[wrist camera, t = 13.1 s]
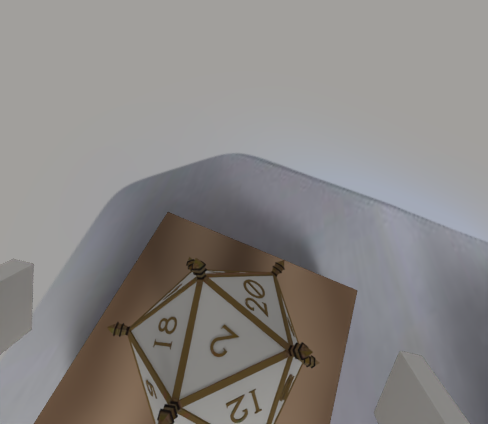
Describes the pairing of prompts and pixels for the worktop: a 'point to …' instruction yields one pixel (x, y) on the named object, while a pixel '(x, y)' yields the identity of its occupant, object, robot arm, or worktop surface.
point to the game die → (218, 348)
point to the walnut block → (162, 281)
